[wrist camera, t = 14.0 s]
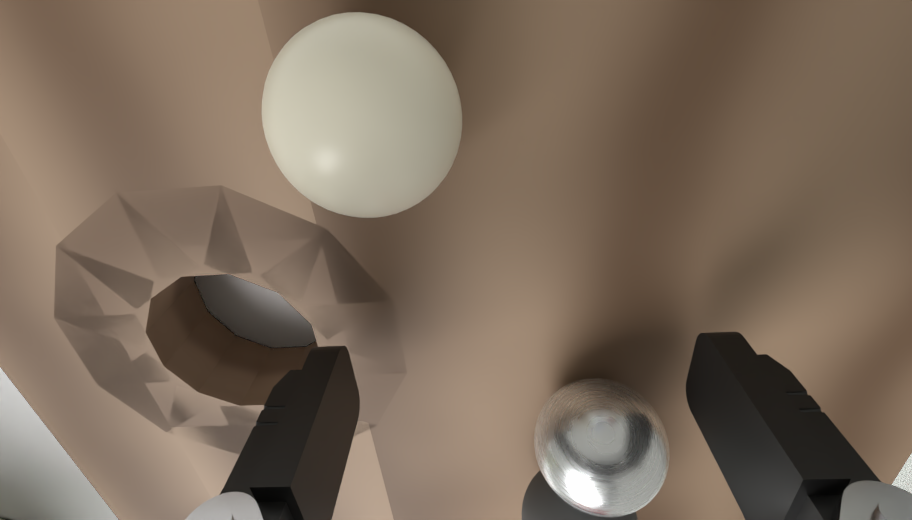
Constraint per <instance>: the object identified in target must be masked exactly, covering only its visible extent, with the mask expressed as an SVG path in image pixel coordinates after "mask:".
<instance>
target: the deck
mask: <svg viewBox="0 0 912 520" xmlns="http://www.w3.org/2000/svg"><path fill="white" fill-rule="evenodd" d="M347 12H363V13H371V14H378V15H381V16H385V17H389V18H392V19H394V20H396V21H398V22H401V23H403V24H405V25H406V26H408V27H410V28H411V29H413V30H415V31H416V32H417V33H419V34H420V35H421V36H422V37H424V38H425V39H426V40H427V41H428V42H429V43H430V44H431V45H432V46H433V47H434V48H435V49H436V50H437V52H438V53H439V54H440V56H441V57H442V58H443V60H444V61H445V63H446V65H447V66H448V68H449V70H450V72H451V74H452V76H453V79H454V81H455V83H456V86H457V90H458V93H459V97H460V102H461V109H462V133H461V140H460V144H459V148H458V152H457V155H456V157H455V160H454V162H453V165H452V167H451V168H450V170H449V172H448V174H447V175H446V177H445V178H444V179H443V181H442V182H441V183H440V184H439V186H438V187H437V188H436V189H435V190H434V191H433V192H432V193H431V194H430V195H429V196H428V197H426V198H425V199H424V200H422V201H421V202H420V203H418V204H416V205H414V206H412V207H411V208H409V209H407V210H404V211H402V212H399V213H397V214H393V215H389V216H384V217H376V218H360V217H351V216H346V215H342V214H338V213H335V212H333V211H330V210H327V209H325V208H323V207H321V206H319V205H317V204H316V203H314V202H312V201H311V200H309V199H308V198H306V197H305V196H304V195H303V194H301V193H300V192H299V191H298V190H297V189H296V188H295V187H294V186H293V185H292V184H291V183H290V182H289V181H288V180H287V178H286V177H285V176H284V175H283V173H282V172H281V170H280V169H279V167H278V166H277V164H276V162H275V160H274V158H273V156H272V154H271V152H270V149H269V146H268V144H267V141H266V138H265V134H264V129H263V123H262V97H263V91H264V85H265V81H266V78H267V75H268V72H269V70H270V68H271V66H272V64H273V62H274V60H275V58H276V57H277V55H278V54H279V52H280V51H281V49H282V48H283V47H284V45H285V44H286V43H287V42H288V41H289V40H290V39H291V38H292V37H293V36H294V35H295V34H296V33H298V32H299V31H300V30H302V29H303V28H304V27H306V26H308V25H310V24H312V23H314V22H316V21H318V20H319V19H322V18H325V17H328V16H331V15H335V14H341V13H347ZM221 274H230V275H232V276H235V277H238V278H240V279H243V280H246V281H248V282H251V283H254V284H256V285H259V286H262V287H264V288H267V289H270V290H272V291H275V292H277V293H279V294H280V295H281V296H282V297H283V298H284V299H285V300H286V301H287V302H288V303H289V304H290V305H291V306H292V307H293V308H294V309H295V310H296V311H297V312H299V313H300V314H301V315H302V316H303V317H304V318H305V319H306V320H307V321H308V322H309V323H310V324H311V325H312V329H313V332H314V335H315V339H316V341H315V342H313V343H312V344H310V345H308V346H307V347H291V348H269V347H266V346H263V345H260V344H258V343H255V342H252V341H249V340H246V339H243V338H241V337H238V336H235V335H234V334H233V333H232V332H231V331H230V330H228V329H227V328H226V327H225V326H224V325H223V324H221V323H220V322H219V321H218V320H217V319H216V318H214V317H213V316H212V315H211V314H210V313H209V312H208V311H207V309H206V307H205V305H204V302H203V300H202V298H201V295H200V293H199V291H198V289H197V286H196V284H195V282H194V278H195V276H203V275H221ZM711 332H739V333H740V334H742V335H743V337H744V338H745V339H746V340H747V342H748V343H749V344H750V346H751V347H752V348H753V350H754V351H755V352H756V354H757V355H759V354H767V355H769V356H770V357H772V358H773V359H774V360H776V361H777V362H779V363H780V364H781V365H783V366H784V367H786V368H787V369H789V370H790V371H791V372H792V373H793V374H794V376H795V377H796V378H797V379H798V380H799V382H800V383H801V384H802V385H803V387H804V388H805V389H806V390H807V394H808V395H811V396H812V398H813V399H814V400H815V401H816V403H817V404H818V405H819V406H820V407H821V412H825V414H826V415H827V416H828V417H829V419H830V420H831V421H832V422H833V423H834V425H835V426H836V427H837V428H838V430H839V431H840V432H841V433H842V434H843V436H844V437H845V438H846V439H847V441H848V442H849V443H850V444H851V446H852V447H853V448H854V449H855V450H856V452H857V453H858V454H859V455H860V457H861V458H862V459H863V460H864V461H865V463H866V464H867V465H868V466H869V468H870V469H871V470H872V471H873V473H874V474H875V475H876V476H877V477H878V479H879V480H880V481H881V482H883V483H887V484H890V485H891V484H892V483H893V481H894V480H895V478H896V476H897V475H898V473H899V472H900V470H901V469H902V467H903V465H904V464H905V462H906V461H907V459H908V457H909V456H910V454H911V453H912V0H0V367H1V369H2V370H3V371H4V372H5V374H6V375H7V376H8V378H9V379H10V380H11V381H12V383H13V384H14V385H15V387H16V388H17V389H18V390H19V392H20V393H21V394H22V396H23V397H24V398H25V399H26V401H27V402H28V403H29V405H30V406H31V407H32V408H33V410H34V411H35V412H36V414H37V415H38V416H39V417H40V419H41V420H42V421H43V423H44V424H45V425H46V426H47V428H48V429H49V430H50V432H51V433H52V434H53V435H54V437H55V438H56V439H57V441H58V442H59V443H60V444H61V446H62V447H63V448H64V450H65V451H66V452H67V454H68V455H69V456H70V457H71V459H72V460H73V461H74V463H75V464H76V465H77V466H78V468H79V469H80V470H81V472H82V473H83V474H84V475H85V477H86V478H87V479H88V481H89V482H90V483H91V484H92V486H93V487H94V488H95V490H96V491H97V492H98V493H99V495H100V496H101V497H102V499H103V500H104V501H105V502H106V504H107V505H108V506H109V508H110V509H111V510H112V511H113V513H114V514H115V515H116V517H117V518H118V519H119V520H185V519H186V518H187V517H188V516H189V515H190V514H191V513H192V512H193V511H194V510H195V509H196V508H197V507H199V506H200V505H201V504H202V503H204V502H206V501H207V500H209V499H211V498H213V497H215V496H217V495H219V494H220V493H221V491H222V489H223V488H224V486H225V484H226V482H227V480H228V478H229V476H230V474H231V472H232V469H233V467H234V465H235V463H236V461H237V459H238V457H239V455H240V453H241V451H242V449H243V447H244V445H245V443H246V441H247V439H248V437H249V435H250V433H251V431H252V429H253V427H254V426H256V421H257V419H258V417H259V415H260V413H261V411H262V410H264V405H265V403H266V401H267V399H268V397H269V395H270V393H271V391H272V389H273V387H274V386H275V385H276V384H277V383H278V382H279V381H280V380H281V379H282V378H283V377H284V376H285V375H286V374H287V373H288V372H289V371H290V370H302V368H303V365H304V363H305V361H306V358H307V356H308V354H309V352H310V350H311V349H312V348H313V347H323V346H346V347H347V349H348V351H349V355H350V359H351V363H352V367H353V371H354V375H355V378H356V382H357V386H358V390H359V397H360V410H359V417H358V421H357V425H356V429H355V433H354V437H353V440H352V444H351V448H350V452H349V456H348V459H347V463H346V467H345V471H344V475H343V478H342V482H341V486H340V490H339V493H338V497H337V501H336V505H335V509H334V512H333V516H332V520H522V514H521V513H522V503H523V499H524V495H525V492H526V490H527V487H528V485H529V483H530V482H531V480H532V479H533V477H534V476H535V475H536V474H537V473H538V472H539V471H540V468H539V466H538V462H537V459H536V455H535V448H534V434H535V427H536V422H537V419H538V416H539V414H540V412H541V410H542V408H543V406H544V405H545V403H546V402H547V400H548V399H549V398H550V397H551V396H552V395H553V394H554V393H555V392H556V391H558V390H559V389H560V388H562V387H564V386H565V385H567V384H569V383H572V382H574V381H578V380H581V379H588V378H600V379H607V380H612V381H615V382H618V383H621V384H623V385H625V386H627V387H629V388H631V389H632V390H634V391H635V392H637V393H638V394H639V395H641V396H642V397H643V398H644V399H645V400H646V401H647V402H648V403H649V404H650V405H651V406H652V408H653V409H654V410H655V412H656V413H657V415H658V417H659V418H660V420H661V422H662V424H663V427H664V429H665V432H666V435H667V439H668V445H669V468H668V472H667V475H666V478H665V481H664V483H663V485H662V487H661V489H660V490H659V492H658V493H657V494H656V496H655V497H654V498H653V499H652V500H651V501H650V502H649V503H648V504H647V505H646V506H644V507H643V508H641V509H639V510H638V511H636V514H637V519H638V520H745V518H744V516H743V514H742V512H741V510H740V508H739V506H738V504H737V502H736V500H735V498H734V496H733V494H732V492H731V490H730V488H729V486H728V484H727V482H726V480H725V478H724V476H723V474H722V472H721V470H720V468H719V466H718V464H717V462H716V460H715V458H714V456H713V454H712V452H711V450H710V448H709V446H708V444H707V442H706V440H705V438H704V436H703V434H702V432H701V431H700V429H699V427H698V425H697V423H696V421H695V419H694V417H693V415H692V413H691V411H690V408H689V405H688V402H687V397H686V380H687V376H688V372H689V367H690V363H691V359H692V355H693V351H694V346H695V342H696V339H697V336H698V335H699V334H700V333H711Z"/></svg>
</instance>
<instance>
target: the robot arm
mask: <svg viewBox="0 0 912 520" xmlns="http://www.w3.org/2000/svg"><path fill="white" fill-rule="evenodd" d="M686 397H687V402H688V405H689V408H690V411H691V413H692V415H693V417H694V419H695V421H696V423H697V425H698V427H699V429H700V431H701V432H702V434H703V436H704V438H705V440H706V442H707V444H708V446H709V448H710V450H711V452H712V454H713V456H714V458H715V460H716V462H717V464H718V466H719V468H720V470H721V472H722V474H723V476H724V478H725V480H726V482H727V484H728V486H729V488H730V490H731V492H732V494H733V496H734V498H735V500H736V502H737V504H738V506H739V508H740V510H741V512H742V514H743V516H744V518H745V520H912V494H911V493H909V492H907V491H905V490H903V489H901V488H898V487H896V486H893V485H890V484H887V483H883V482H881V481H880V480H879V479H878V477H877V476H876V475H875V474H874V473H873V471H872V470H871V469H870V468H869V466H868V465H867V464H866V463H865V461H864V460H863V459H862V458H861V457H860V455H859V454H858V453H857V452H856V450H855V449H854V448H853V447H852V446H851V444H850V443H849V442H848V441H847V439H846V438H845V437H844V436H843V434H842V433H841V432H840V431H839V430H838V428H837V427H836V426H835V425H834V423H833V422H832V421H831V420H830V419H829V417H828V416H827V415H826V414H825V412H821V407H820V406H819V405H818V404H817V403H816V401H815V400H814V399H813V398H812V396H811V395H808V394H807V390H806V389H805V388H804V387H803V385H802V384H801V383H800V382H799V380H798V379H797V378H796V377H795V376H794V374H793V373H792V372H791V371H790V370H789V369H787V368H786V367H784V366H783V365H781V364H780V363H779V362H777V361H776V360H774V359H773V358H772V357H770V356H769V355H767V354H759V355H757V354H756V352H755V351H754V350H753V348H752V347H751V346H750V344H749V343H748V342H747V340H746V339H745V338H744V337H743V335H742V334H740V333H739V332H711V333H700V334H699V335H698V336H697V339H696V342H695V346H694V351H693V355H692V359H691V363H690V367H689V372H688V376H687V380H686ZM359 410H360V397H359V390H358V386H357V382H356V378H355V375H354V371H353V367H352V363H351V359H350V355H349V351H348V349H347V347H346V346H323V347H313V348H312V349H311V350H310V352H309V354H308V356H307V358H306V361H305V363H304V365H303V368H302V370H290V371H289V372H288V373H287V374H286V375H285V376H284V377H283V378H282V379H281V380H280V381H279V382H278V383H277V384H276V385H275V386H274V387H273V389H272V391H271V393H270V395H269V397H268V399H267V401H266V403H265V405H264V410H262V411H261V413H260V415H259V417H258V419H257V421H256V426H254V427H253V429H252V431H251V433H250V435H249V437H248V439H247V441H246V443H245V445H244V447H243V449H242V451H241V453H240V455H239V457H238V459H237V461H236V463H235V465H234V467H233V469H232V472H231V474H230V476H229V478H228V480H227V482H226V484H225V486H224V488H223V489H222V491H221V493H220V494H219V495H217V496H215V497H213V498H211V499H209V500H207V501H206V502H204V503H202V504H201V505H200V506H199V507H197V508H196V509H195V510H194V511H193V512H192V513H191V514H190V515H189V516H188V517H187V518H186V519H185V520H332V516H333V512H334V509H335V505H336V501H337V497H338V493H339V490H340V486H341V482H342V478H343V475H344V471H345V467H346V463H347V459H348V456H349V452H350V448H351V444H352V440H353V437H354V433H355V429H356V425H357V421H358V417H359Z"/></svg>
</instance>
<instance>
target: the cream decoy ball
mask: <svg viewBox="0 0 912 520" xmlns="http://www.w3.org/2000/svg"><path fill="white" fill-rule="evenodd" d="M262 123H263V129H264V134H265V138H266V141H267V144H268V146H269V149H270V152H271V154H272V156H273V158H274V160H275V162H276V164H277V166H278V167H279V169H280V170H281V172H282V173H283V175H284V176H285V177H286V178H287V180H288V181H289V182H290V183H291V184H292V185H293V186H294V187H295V188H296V189H297V190H298V191H299V192H300V193H301V194H303V195H304V196H305V197H306V198H308V199H309V200H311V201H312V202H314V203H316V204H317V205H319V206H321V207H323V208H325V209H327V210H330V211H333V212H335V213H338V214H342V215H346V216H351V217H360V218H376V217H384V216H389V215H393V214H397V213H399V212H402V211H404V210H407V209H409V208H411V207H412V206H414V205H416V204H418V203H420V202H421V201H422V200H424V199H425V198H426V197H428V196H429V195H430V194H431V193H432V192H433V191H434V190H435V189H436V188H437V187H438V186H439V184H440V183H441V182H442V181H443V179H444V178H445V177H446V175H447V174H448V172H449V170H450V168H451V167H452V165H453V162H454V160H455V157H456V155H457V152H458V148H459V144H460V140H461V133H462V109H461V102H460V97H459V93H458V90H457V86H456V83H455V81H454V79H453V76H452V74H451V72H450V70H449V68H448V66H447V65H446V63H445V61H444V60H443V58H442V57H441V56H440V54H439V53H438V52H437V50H436V49H435V48H434V47H433V46H432V45H431V44H430V43H429V42H428V41H427V40H426V39H425V38H424V37H422V36H421V35H420V34H419V33H417V32H416V31H415V30H413V29H411V28H410V27H408V26H406V25H405V24H403V23H401V22H398V21H396V20H394V19H392V18H389V17H385V16H381V15H378V14H371V13H363V12H347V13H341V14H335V15H331V16H328V17H325V18H322V19H319V20H318V21H316V22H314V23H312V24H310V25H308V26H306V27H304V28H303V29H302V30H300V31H299V32H298V33H296V34H295V35H294V36H293V37H292V38H291V39H290V40H289V41H288V42H287V43H286V44H285V45H284V47H283V48H282V49H281V51H280V52H279V54H278V55H277V57H276V58H275V60H274V62H273V64H272V66H271V68H270V70H269V72H268V75H267V78H266V81H265V85H264V91H263V97H262Z"/></svg>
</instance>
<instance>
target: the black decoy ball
mask: <svg viewBox="0 0 912 520" xmlns="http://www.w3.org/2000/svg"><path fill="white" fill-rule="evenodd" d="M521 514H522V520H638V519H637V514H636V512H633V513H631V514H629V515H625V516H620V517H611V518H610V517H598V516H593V515H590V514H587V513H584V512H581V511H579V510H577V509H575V508H573V507H572V506H570V505H569V504H567V503H566V502H565V501H563V500H562V499H561V498H560V497H559V496H558V495H557V494H556V493H555V492H554V491H553V490H552V489H551V487H550V486H549V484H548V483H547V482H546V480H545V478H544V476H543V475H542V473H541V470H540V471H539V472H538V473H537V474H536V475H535V476H534V477H533V479H532V480H531V482H530V483H529V485H528V487H527V490H526V492H525V495H524V499H523V503H522V513H521Z"/></svg>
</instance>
